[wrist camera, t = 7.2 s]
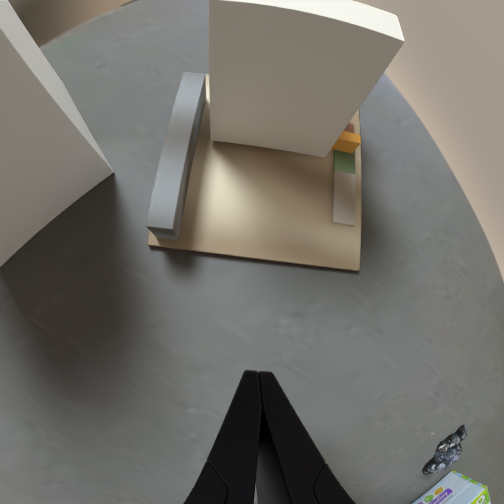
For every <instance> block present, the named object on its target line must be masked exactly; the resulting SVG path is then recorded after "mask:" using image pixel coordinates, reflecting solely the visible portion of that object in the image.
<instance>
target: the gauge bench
mask: <svg viewBox="0 0 504 504" xmlns="http://www.w3.org/2000/svg"><path fill="white" fill-rule="evenodd" d="M344 131H346V132H351V133H355V134H359V135H360V124H359V109H358V110H357V112H356V113H355V115H354V116H353V117H352V119H351V120H350V122H349V123H348V125H347V126H346V128H345V129H344ZM146 226H147V228H148V229H149V230H150V232H149V238H148V245H149V246H156V247H164V248H172V249H180V250H188V251H195V252H203V253H211V254H219V255H227V256H235V257H244V258H252V259H260V260H268V261H276V262H284V263H293V264H301V265H309V266H317V267H326V268H334V269H343V270H351V271H359V267H360V246H361V145H359V146H358V147H357V148H356V150H355V151H354V152H353V153H348V152H343V151H339V150H334V149H330V151H329V152H328V154H327V155H326V157H325V158H324V157H319V156H313V155H308V154H302V153H297V152H291V151H285V150H279V149H272V148H266V147H259V146H252V145H244V144H237V143H229V142H220V141H212V140H211V133H210V91H209V75H207V74H205V73H193V72H184V73H183V76H182V79H181V83H180V86H179V89H178V93H177V96H176V100H175V103H174V107H173V110H172V114H171V118H170V121H169V125H168V129H167V133H166V137H165V141H164V145H163V149H162V153H161V157H160V161H159V166H158V170H157V175H156V179H155V184H154V188H153V193H152V198H151V203H150V208H149V213H148V219H147V224H146Z"/></svg>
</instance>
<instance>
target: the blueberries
mask: <svg viewBox="0 0 504 504" xmlns="http://www.w3.org/2000/svg"><path fill="white" fill-rule="evenodd" d="M442 427H443V426H442ZM432 434H434V433H432ZM432 434H431V435H432ZM466 436H467V429H466V427H465V425H462V426H460V427H459V428H458V430H457V431H456V432H455V433H453V434H451V435H449V436H448V437H447V438H446V439H445V440H443V441H441V442H440V443H439V445H438V446H437V449H436V451H435V454H434V457H433V458H432V459H431V460H430V461H429V462H428V463H426V464H425V466H424V468H423V469H422V472H423V474H425V475H427V474H431V473H433V472H439V471H441V470H443V469H444V468H445V469H447V468H449V467H450V466H451V465H452V463H453V462H455V461H456V460H458V458H459V456H460V454H461V452H462V445H461V443H460V441H462V440H463V439H464V438H465V437H466Z"/></svg>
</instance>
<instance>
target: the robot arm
mask: <svg viewBox="0 0 504 504" xmlns="http://www.w3.org/2000/svg"><path fill="white" fill-rule="evenodd" d="M255 483H256V489H257V499H258V504H356V503H355V502H354V501H353V500H352V499H351V497H350V496H349V495H348V494H347V492H346V491H345V490H344V489H343V487H342V486H341V485H340V483H339V482H338V480H337V479H336V477H335V476H334V474H333V473H332V471H331V470H330V468H329V466H328V465H327V464H326V463H325V460H324V458H323V457H322V455H321V454H320V452H319V450H318V449H317V447H316V445H315V444H314V442H313V440H312V439H311V437H310V435H309V434H308V432H307V430H306V429H305V427H304V425H303V424H302V422H301V420H300V419H299V417H298V415H297V414H296V412H295V410H294V409H293V407H292V405H291V403H290V402H289V400H288V398H287V397H286V395H285V393H284V391H283V390H282V388H281V386H280V385H279V383H278V381H277V379H276V378H275V376H274V374H273V373H272V372H267V371H259V372H257V371H254V370H245V371H244V373H243V375H242V378H241V380H240V383H239V385H238V388H237V390H236V392H235V395H234V397H233V400H232V402H231V404H230V407H229V409H228V412H227V414H226V416H225V419H224V421H223V424H222V426H221V428H220V431H219V433H218V435H217V438H216V440H215V442H214V445H213V447H212V449H211V452H210V454H209V456H208V458H207V462H206V463H205V465H204V467H203V469H202V472H201V474H200V476H199V478H198V480H197V482H196V484H195V486H194V488H193V489H192V491H191V492H190V494H189V496H188V497H187V499H186V501H185V502H184V503H183V504H253V503H254V493H255Z"/></svg>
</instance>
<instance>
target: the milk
mask: <svg viewBox="0 0 504 504" xmlns="http://www.w3.org/2000/svg"><path fill="white" fill-rule="evenodd" d="M112 173H114V172H113V170H112V168H111V167H110V165H109V163H108V162H107V160H106V158H105V157H104V155H103V153H102V152H101V150H100V148H99V147H98V145H97V143H96V141H95V140H94V138H93V136H92V135H91V133H90V131H89V129H88V128H87V126H86V124H85V122H84V121H83V119H82V117H81V115H80V113H79V112H78V110H77V108H76V106H75V104H74V103H73V101H72V99H71V97H70V95H69V93H68V91H67V90H66V88H65V86H64V84H63V83H62V81H61V80H60V78H59V77H58V75H57V74H56V73H55V71H54V70H53V68H52V67H51V65H50V64H49V62H48V61H47V59H46V58H45V57H44V55H43V54H42V52H41V51H40V49H39V48H38V46H37V45H36V43H35V42H34V40H33V39H32V37H31V36H30V34H29V33H28V31H27V30H26V28H25V27H24V25H23V24H22V22H21V20H20V19H19V17H18V16H17V14H16V13H15V11H14V10H13V8H12V7H11V5H10V3H9V2H8V0H0V267H1V266H2V265H3V264H4V263H5V262H6V261H7V260H8V259H9V258H10V257H11V256H12V255H13V254H14V253H15V252H17V251H18V250H19V249H20V248H21V247H22V246H23V245H24V244H25V243H26V242H27V241H29V240H30V239H31V238H32V237H33V236H34V235H35V234H36V233H38V232H39V231H40V230H41V229H42V228H43V227H45V226H46V225H47V224H48V223H49V222H50V221H52V220H53V219H54V218H55V217H56V216H58V215H59V214H60V213H61V212H62V211H64V210H65V209H66V208H67V207H69V206H70V205H71V204H72V203H74V202H75V201H76V200H78V199H79V198H80V197H81V196H83V195H84V194H85V193H87V192H88V191H89V190H91V189H92V188H93V187H95V186H96V185H97V184H99V183H100V182H101V181H103V180H104V179H105V178H107V177H108V176H110V175H111V174H112Z"/></svg>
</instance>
